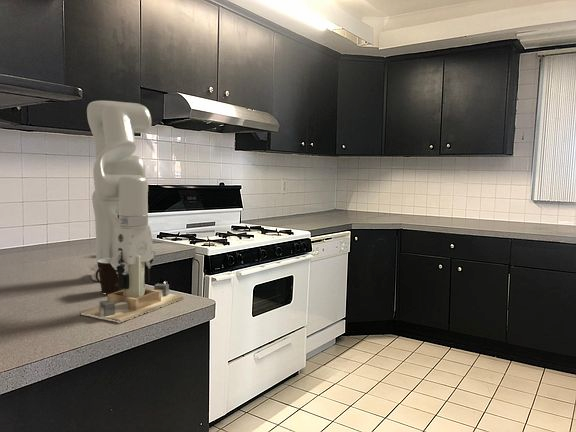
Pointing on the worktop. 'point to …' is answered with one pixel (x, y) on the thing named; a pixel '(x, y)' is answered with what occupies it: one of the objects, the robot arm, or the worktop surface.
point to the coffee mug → (107, 276)
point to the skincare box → (136, 279)
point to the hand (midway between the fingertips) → (134, 284)
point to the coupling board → (133, 303)
